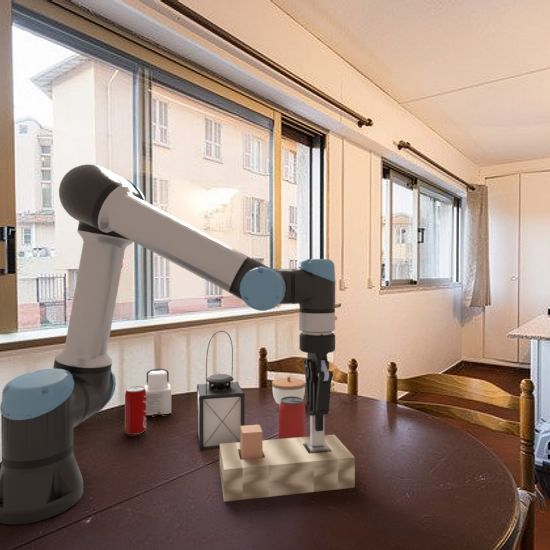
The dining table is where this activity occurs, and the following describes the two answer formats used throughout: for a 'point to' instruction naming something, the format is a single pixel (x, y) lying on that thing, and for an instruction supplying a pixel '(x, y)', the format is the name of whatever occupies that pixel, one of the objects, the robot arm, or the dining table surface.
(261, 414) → the dining table surface
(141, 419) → the soda can
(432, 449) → the dining table surface
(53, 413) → the robot arm
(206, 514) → the dining table surface
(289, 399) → the beer can
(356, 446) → the dining table surface
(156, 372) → the container
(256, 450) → the terracotta peg
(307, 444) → the metal peg
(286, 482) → the birch block
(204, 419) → the lantern
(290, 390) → the lidded jar
